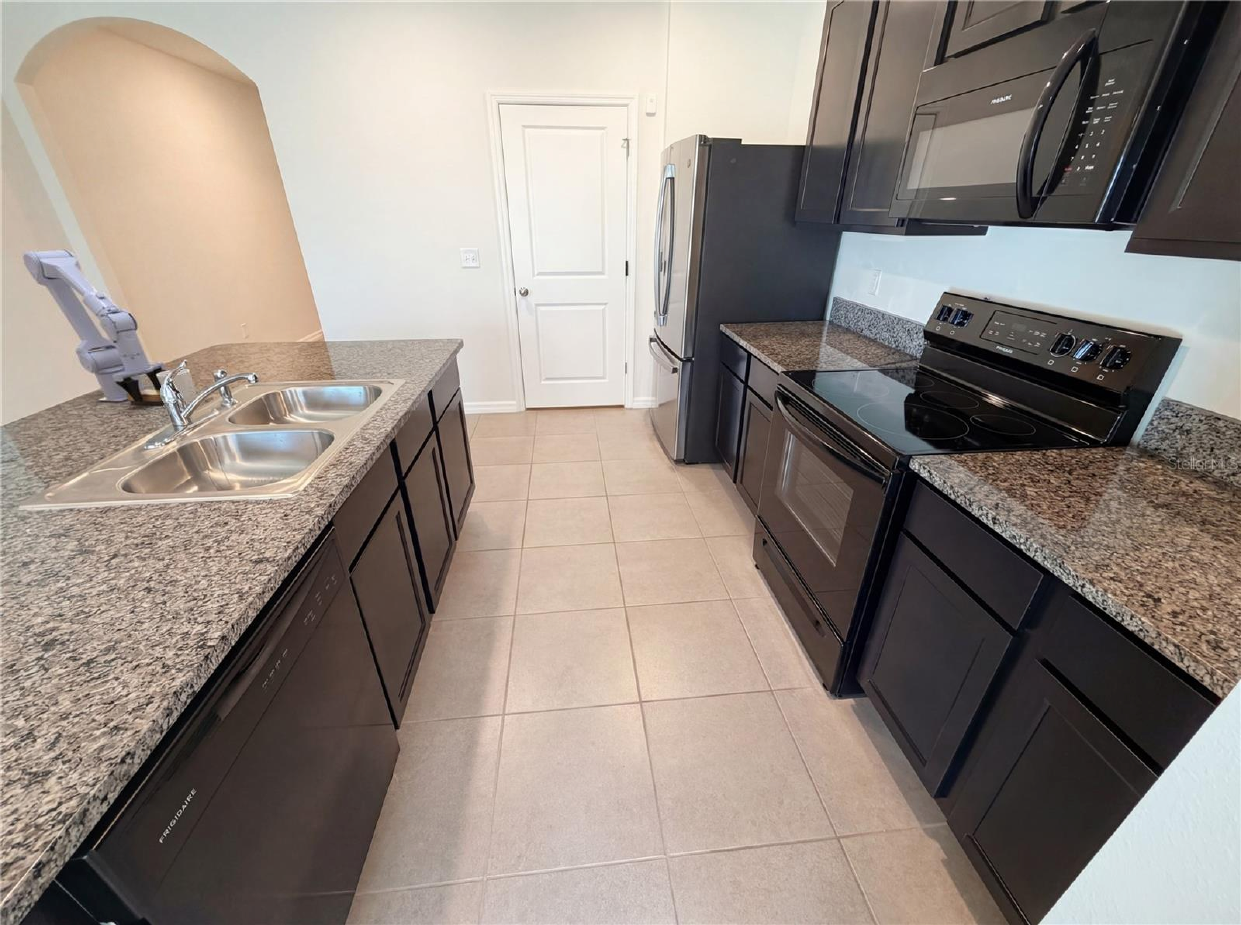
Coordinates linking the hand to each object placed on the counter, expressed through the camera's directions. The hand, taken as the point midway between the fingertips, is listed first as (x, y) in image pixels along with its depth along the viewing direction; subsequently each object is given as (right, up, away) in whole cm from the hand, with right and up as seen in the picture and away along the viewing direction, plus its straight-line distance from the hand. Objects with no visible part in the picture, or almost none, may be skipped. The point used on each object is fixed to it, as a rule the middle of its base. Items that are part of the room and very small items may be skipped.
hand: (150, 397), depth 157 cm
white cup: (+11, -2, 0) cm, 11 cm away
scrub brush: (0, -2, +1) cm, 2 cm away
